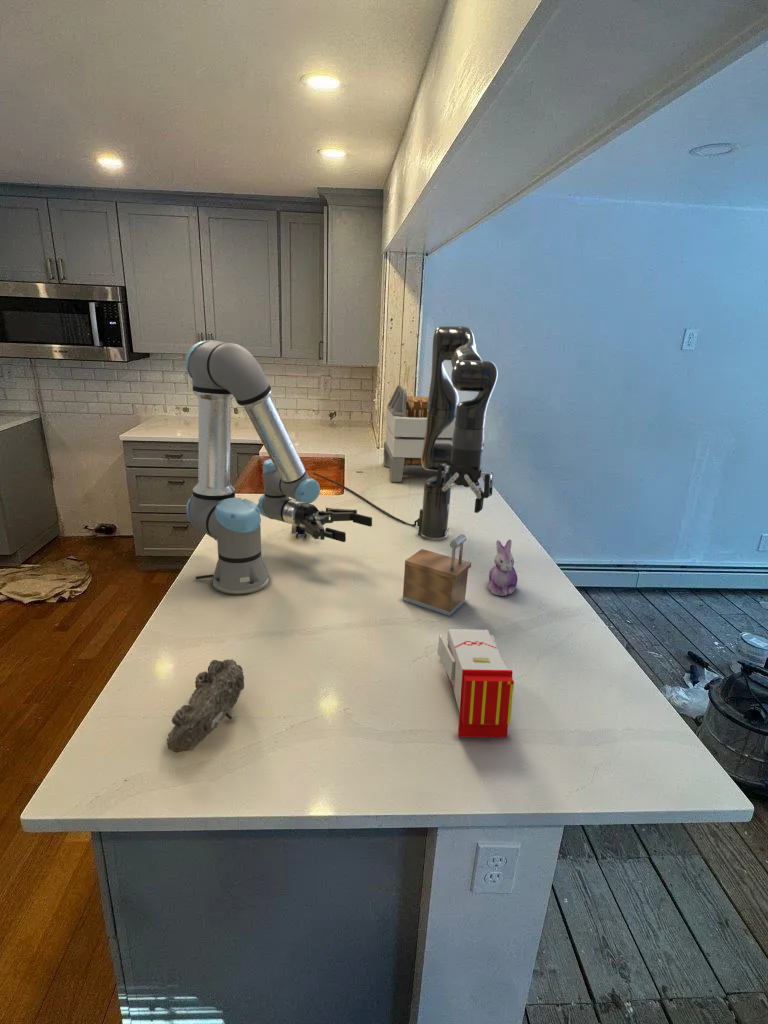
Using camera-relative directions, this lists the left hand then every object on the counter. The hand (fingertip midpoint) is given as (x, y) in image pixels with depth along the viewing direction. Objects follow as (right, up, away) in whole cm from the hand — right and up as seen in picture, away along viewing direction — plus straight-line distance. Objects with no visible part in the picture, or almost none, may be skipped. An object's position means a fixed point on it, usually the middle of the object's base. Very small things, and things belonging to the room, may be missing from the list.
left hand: (358, 529), depth 164 cm
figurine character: (-21, -2, +33) cm, 39 cm away
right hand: (+27, +6, -21) cm, 34 cm away
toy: (+25, -33, -45) cm, 61 cm away
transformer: (+25, +24, +111) cm, 116 cm away
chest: (+21, -19, -8) cm, 30 cm away
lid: (+22, -9, -12) cm, 27 cm away
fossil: (-25, -34, -55) cm, 70 cm away
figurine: (+41, -17, -1) cm, 45 cm away
